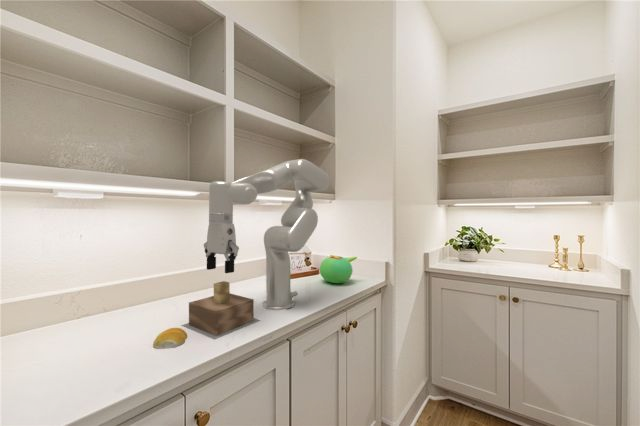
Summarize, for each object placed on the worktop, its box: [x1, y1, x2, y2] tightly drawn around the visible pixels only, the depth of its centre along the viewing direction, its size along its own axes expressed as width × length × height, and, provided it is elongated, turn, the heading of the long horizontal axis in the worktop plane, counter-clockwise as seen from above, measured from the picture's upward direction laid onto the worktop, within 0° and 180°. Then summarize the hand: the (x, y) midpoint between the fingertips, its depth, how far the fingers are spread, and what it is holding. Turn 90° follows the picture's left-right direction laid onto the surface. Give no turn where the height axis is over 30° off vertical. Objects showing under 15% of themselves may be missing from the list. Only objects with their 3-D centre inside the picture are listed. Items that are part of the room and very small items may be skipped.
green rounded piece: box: [319, 254, 358, 284], centre depth 154 cm, size 18×17×15 cm
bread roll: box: [152, 327, 188, 350], centre depth 84 cm, size 8×9×4 cm
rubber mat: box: [181, 318, 262, 340], centre depth 97 cm, size 18×18×1 cm
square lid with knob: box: [188, 280, 255, 336], centre depth 97 cm, size 15×15×13 cm
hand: (220, 270), depth 97 cm, fingers open, 9 cm apart
